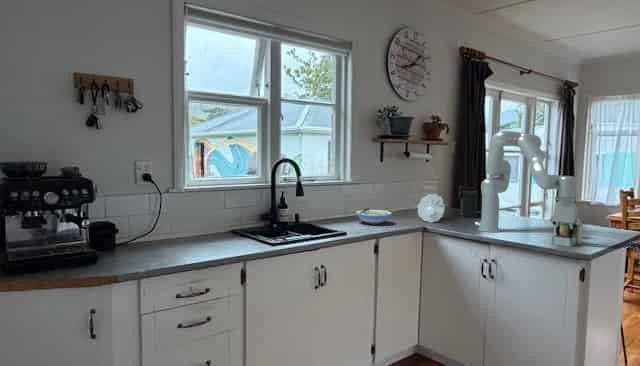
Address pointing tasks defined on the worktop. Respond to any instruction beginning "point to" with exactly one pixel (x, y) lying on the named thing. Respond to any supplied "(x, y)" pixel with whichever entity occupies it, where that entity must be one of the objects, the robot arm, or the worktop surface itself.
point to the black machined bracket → (468, 202)
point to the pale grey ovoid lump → (431, 208)
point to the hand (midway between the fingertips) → (564, 235)
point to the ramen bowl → (373, 216)
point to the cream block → (570, 241)
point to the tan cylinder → (564, 230)
